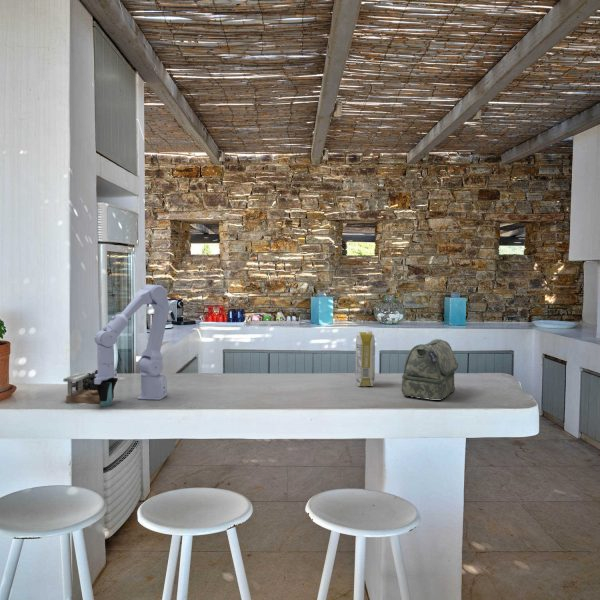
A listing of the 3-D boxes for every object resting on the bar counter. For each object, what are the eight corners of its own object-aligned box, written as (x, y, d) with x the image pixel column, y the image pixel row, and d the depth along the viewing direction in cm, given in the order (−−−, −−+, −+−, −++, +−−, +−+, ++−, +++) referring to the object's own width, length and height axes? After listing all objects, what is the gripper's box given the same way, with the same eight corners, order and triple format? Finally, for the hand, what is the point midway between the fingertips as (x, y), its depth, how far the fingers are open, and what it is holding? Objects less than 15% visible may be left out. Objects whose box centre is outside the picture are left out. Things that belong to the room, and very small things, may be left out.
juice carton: (375, 387, 237) (376, 332, 236) (356, 387, 237) (357, 331, 236) (372, 383, 247) (373, 329, 245) (354, 382, 247) (355, 329, 245)
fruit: (69, 370, 222) (109, 368, 226) (72, 373, 230) (110, 370, 234) (69, 392, 220) (109, 389, 224) (72, 394, 228) (110, 391, 232)
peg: (113, 403, 207) (113, 382, 206) (109, 406, 203) (108, 384, 202) (103, 403, 207) (103, 382, 207) (98, 406, 203) (98, 384, 203)
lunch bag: (442, 404, 211) (443, 347, 209) (396, 397, 220) (397, 343, 219) (460, 390, 233) (461, 339, 232) (418, 385, 242) (419, 336, 241)
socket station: (115, 397, 216) (115, 374, 216) (103, 403, 206) (103, 380, 206) (76, 396, 218) (76, 373, 217) (63, 402, 208) (63, 378, 207)
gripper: (104, 359, 212) (104, 394, 213) (85, 366, 197) (86, 403, 198) (121, 359, 211) (122, 394, 212) (105, 366, 197) (105, 404, 198)
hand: (106, 399), depth 205 cm, fingers closed on peg, 4 cm apart
